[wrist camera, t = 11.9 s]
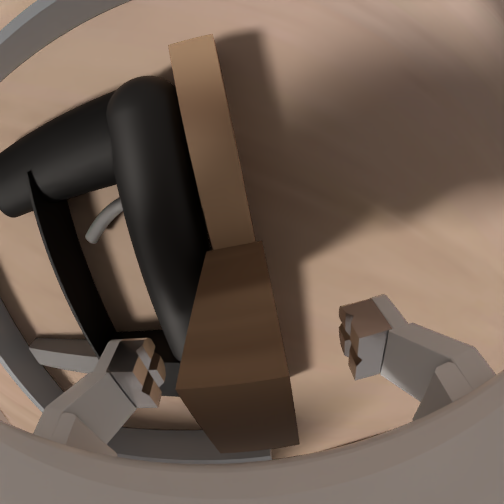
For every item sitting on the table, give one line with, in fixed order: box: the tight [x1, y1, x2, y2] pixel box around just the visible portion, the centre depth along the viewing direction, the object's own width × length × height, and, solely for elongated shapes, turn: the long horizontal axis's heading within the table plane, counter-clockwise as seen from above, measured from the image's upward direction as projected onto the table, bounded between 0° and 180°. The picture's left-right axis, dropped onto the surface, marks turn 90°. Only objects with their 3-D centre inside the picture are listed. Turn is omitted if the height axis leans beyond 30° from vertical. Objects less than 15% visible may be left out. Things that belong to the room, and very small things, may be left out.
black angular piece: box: [0, 76, 211, 397], centre depth 12 cm, size 3×20×16 cm
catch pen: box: [0, 0, 272, 464], centre depth 12 cm, size 30×18×3 cm, turn 11°
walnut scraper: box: [168, 34, 299, 453], centre depth 9 cm, size 18×2×8 cm, turn 11°
